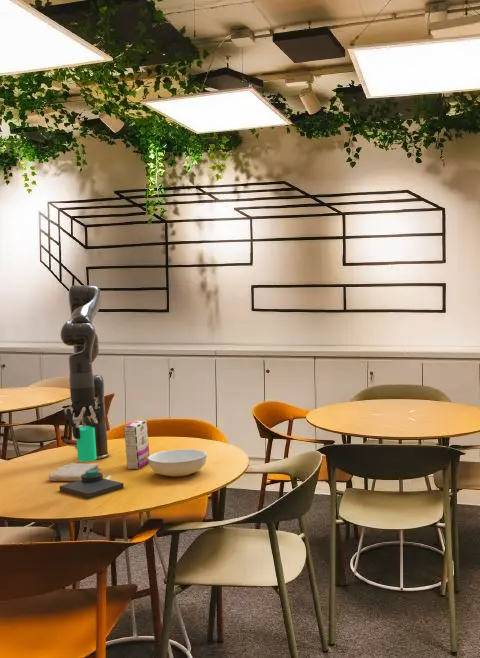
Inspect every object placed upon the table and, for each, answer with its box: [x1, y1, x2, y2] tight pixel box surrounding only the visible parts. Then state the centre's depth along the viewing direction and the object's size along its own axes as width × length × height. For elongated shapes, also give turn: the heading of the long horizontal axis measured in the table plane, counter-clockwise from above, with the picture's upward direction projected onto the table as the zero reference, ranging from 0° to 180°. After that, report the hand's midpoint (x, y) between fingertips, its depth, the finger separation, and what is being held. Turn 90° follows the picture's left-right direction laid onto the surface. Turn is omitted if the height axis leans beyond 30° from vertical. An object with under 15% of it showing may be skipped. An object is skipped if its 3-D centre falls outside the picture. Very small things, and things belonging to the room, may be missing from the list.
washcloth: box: [48, 462, 100, 482], centre depth 245 cm, size 12×18×3 cm, turn 172°
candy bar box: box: [123, 420, 150, 470], centre depth 256 cm, size 11×5×16 cm, turn 168°
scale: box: [58, 472, 125, 500], centre depth 226 cm, size 16×14×4 cm
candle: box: [76, 425, 98, 463], centre depth 220 cm, size 6×6×12 cm
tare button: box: [86, 469, 99, 477], centre depth 232 cm, size 4×4×2 cm
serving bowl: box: [148, 448, 207, 478], centre depth 243 cm, size 21×21×7 cm
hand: (85, 436), depth 220 cm, fingers closed on candle, 6 cm apart
